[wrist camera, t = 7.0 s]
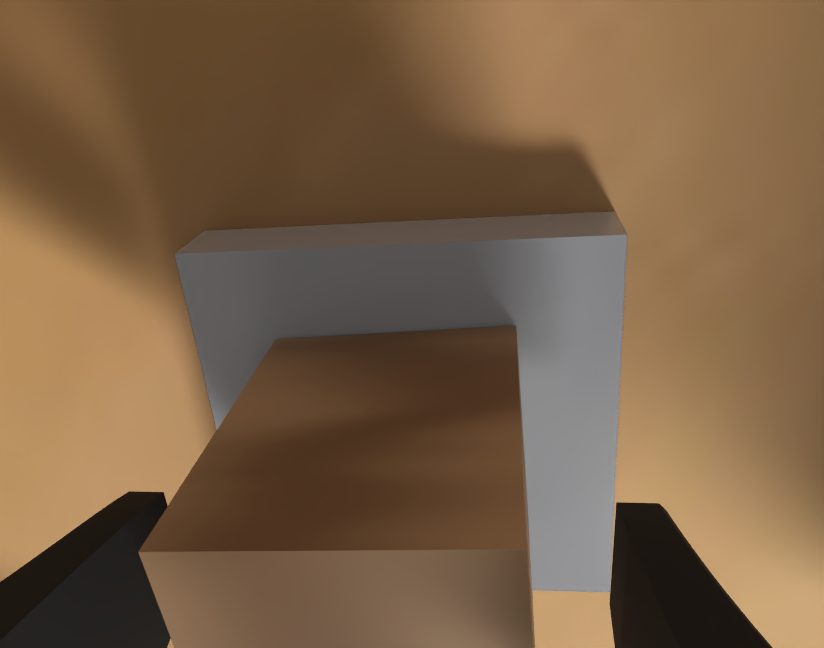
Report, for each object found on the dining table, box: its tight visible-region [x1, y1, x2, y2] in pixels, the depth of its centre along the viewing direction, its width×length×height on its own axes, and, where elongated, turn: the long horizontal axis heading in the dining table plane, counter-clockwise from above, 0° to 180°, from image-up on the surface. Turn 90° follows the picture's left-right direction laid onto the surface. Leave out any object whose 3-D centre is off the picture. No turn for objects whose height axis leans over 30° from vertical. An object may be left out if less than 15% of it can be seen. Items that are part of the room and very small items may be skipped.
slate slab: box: [174, 211, 627, 592], centre depth 15 cm, size 8×8×2 cm
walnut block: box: [138, 325, 535, 648], centre depth 11 cm, size 4×4×6 cm
